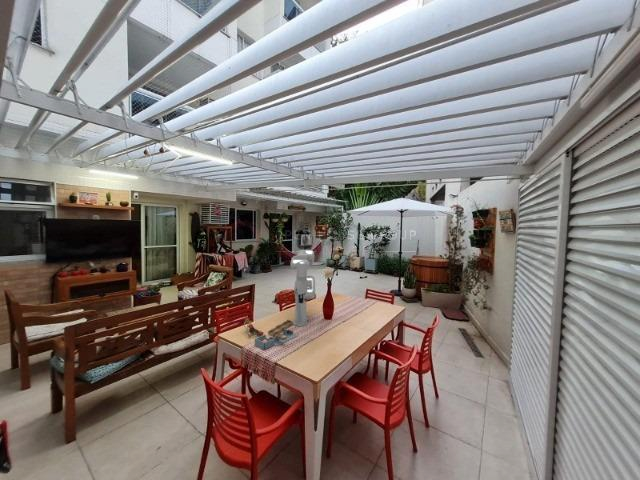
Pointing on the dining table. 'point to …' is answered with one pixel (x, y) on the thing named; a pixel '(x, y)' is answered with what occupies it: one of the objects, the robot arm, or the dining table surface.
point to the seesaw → (280, 329)
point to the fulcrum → (286, 333)
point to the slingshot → (252, 328)
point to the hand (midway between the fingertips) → (300, 302)
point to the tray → (262, 344)
